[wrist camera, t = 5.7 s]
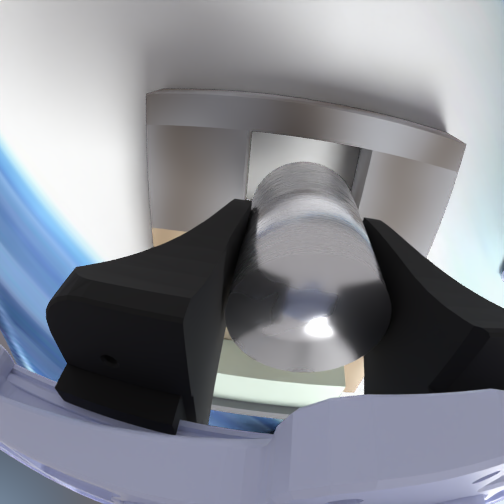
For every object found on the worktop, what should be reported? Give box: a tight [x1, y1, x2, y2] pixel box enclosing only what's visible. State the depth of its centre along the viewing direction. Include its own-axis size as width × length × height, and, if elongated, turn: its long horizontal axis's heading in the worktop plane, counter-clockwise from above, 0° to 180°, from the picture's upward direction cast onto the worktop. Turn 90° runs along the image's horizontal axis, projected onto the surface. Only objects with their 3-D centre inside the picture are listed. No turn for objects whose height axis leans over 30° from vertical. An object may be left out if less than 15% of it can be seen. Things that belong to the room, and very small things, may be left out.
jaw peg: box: [225, 162, 392, 372], centre depth 10 cm, size 4×4×6 cm
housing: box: [146, 89, 466, 392], centre depth 18 cm, size 14×19×2 cm
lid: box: [211, 339, 346, 419], centre depth 19 cm, size 9×4×3 cm, turn 85°
